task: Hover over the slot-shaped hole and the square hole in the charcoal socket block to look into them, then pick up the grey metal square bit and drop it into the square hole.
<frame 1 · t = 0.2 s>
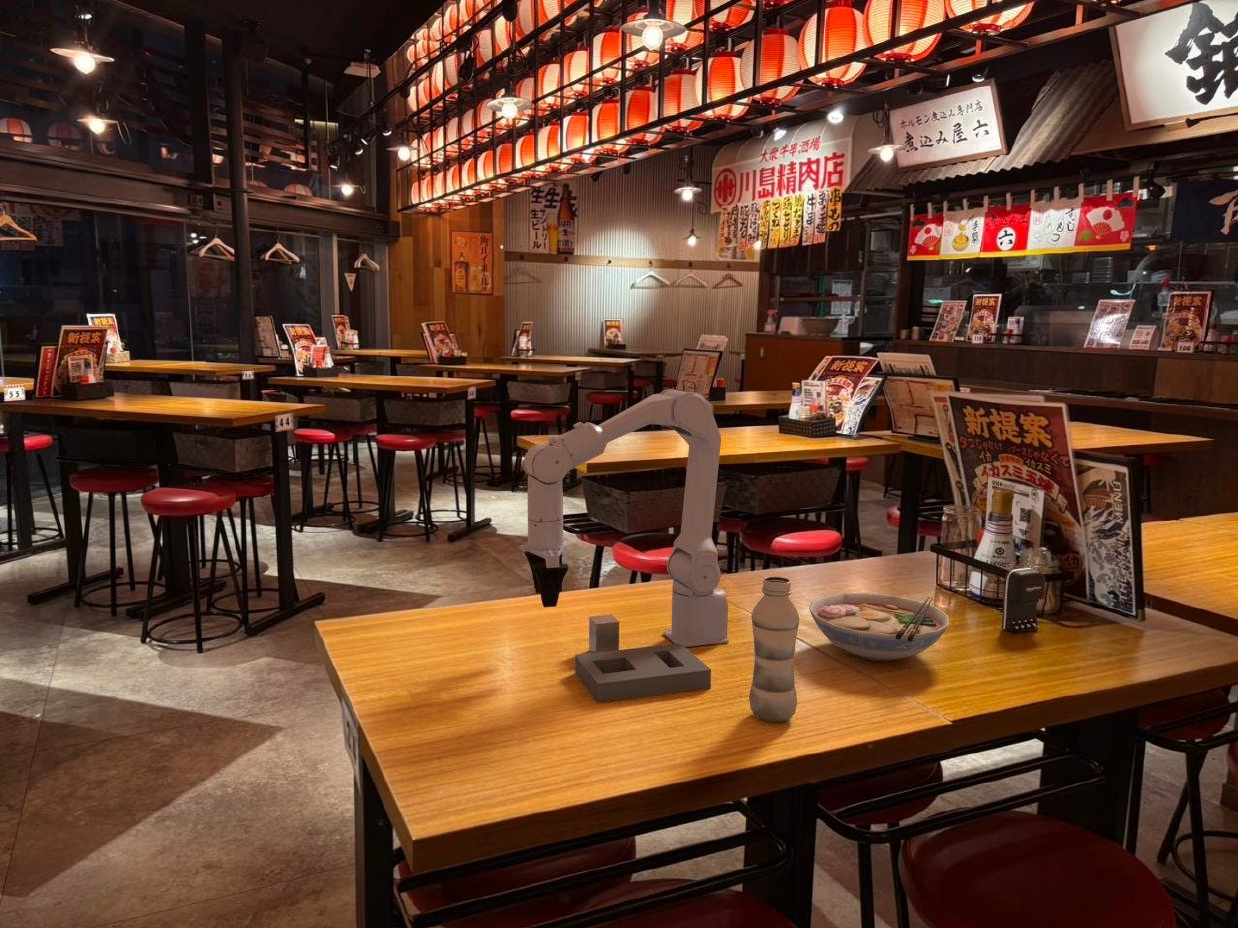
hand: (545, 599, 143), 10 cm above the table, tool pointing down, fingers open, 7 cm apart
ramen bowl: (875, 655, 148), on the table
socket block: (641, 680, 135), on the table
square bit: (603, 653, 147), on the table
plastic bottle: (772, 718, 122), on the table
battery charger: (1022, 631, 160), on the table
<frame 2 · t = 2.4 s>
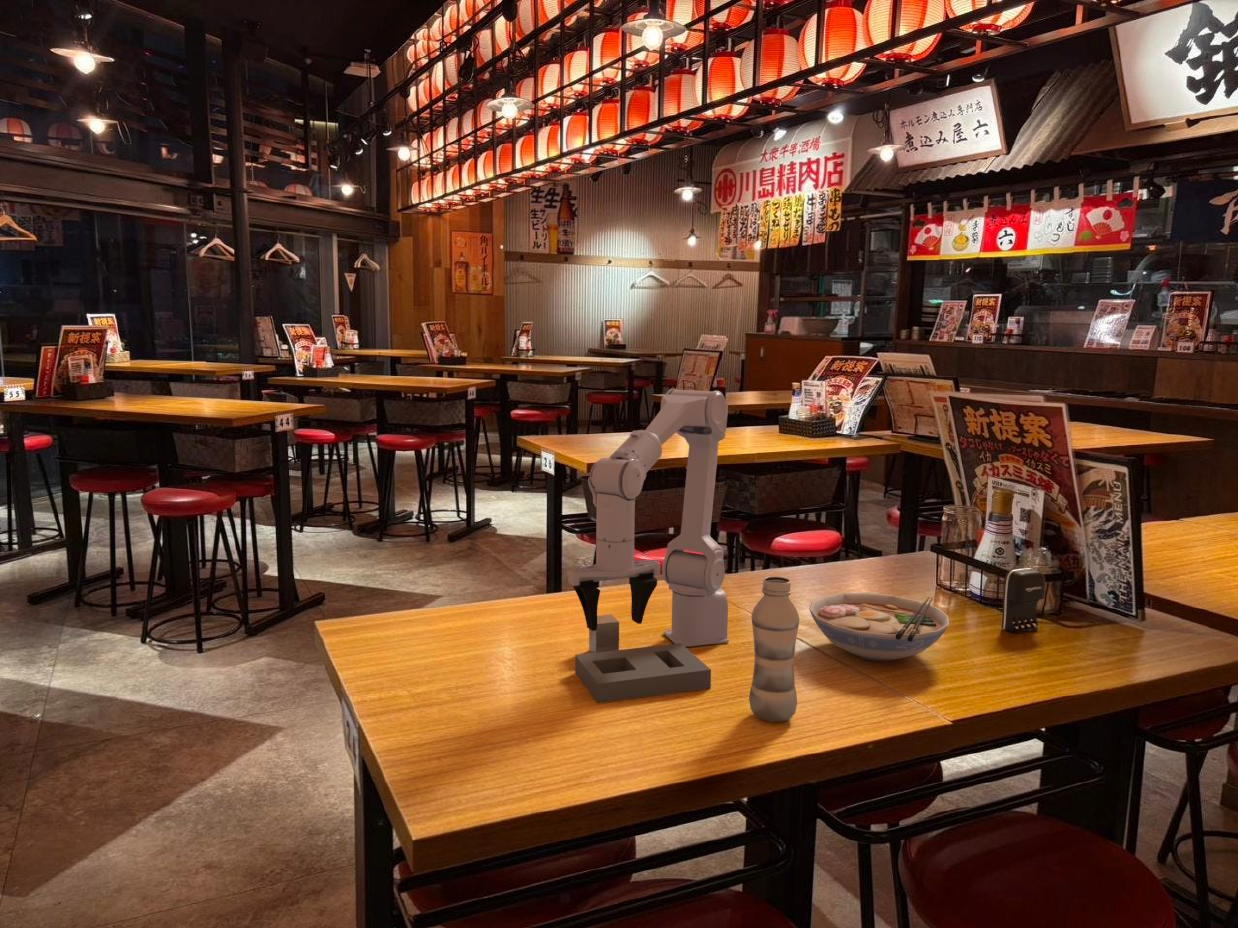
hand: (614, 625, 132), 9 cm above the table, tool pointing down, fingers open, 7 cm apart
nothing on the table moved.
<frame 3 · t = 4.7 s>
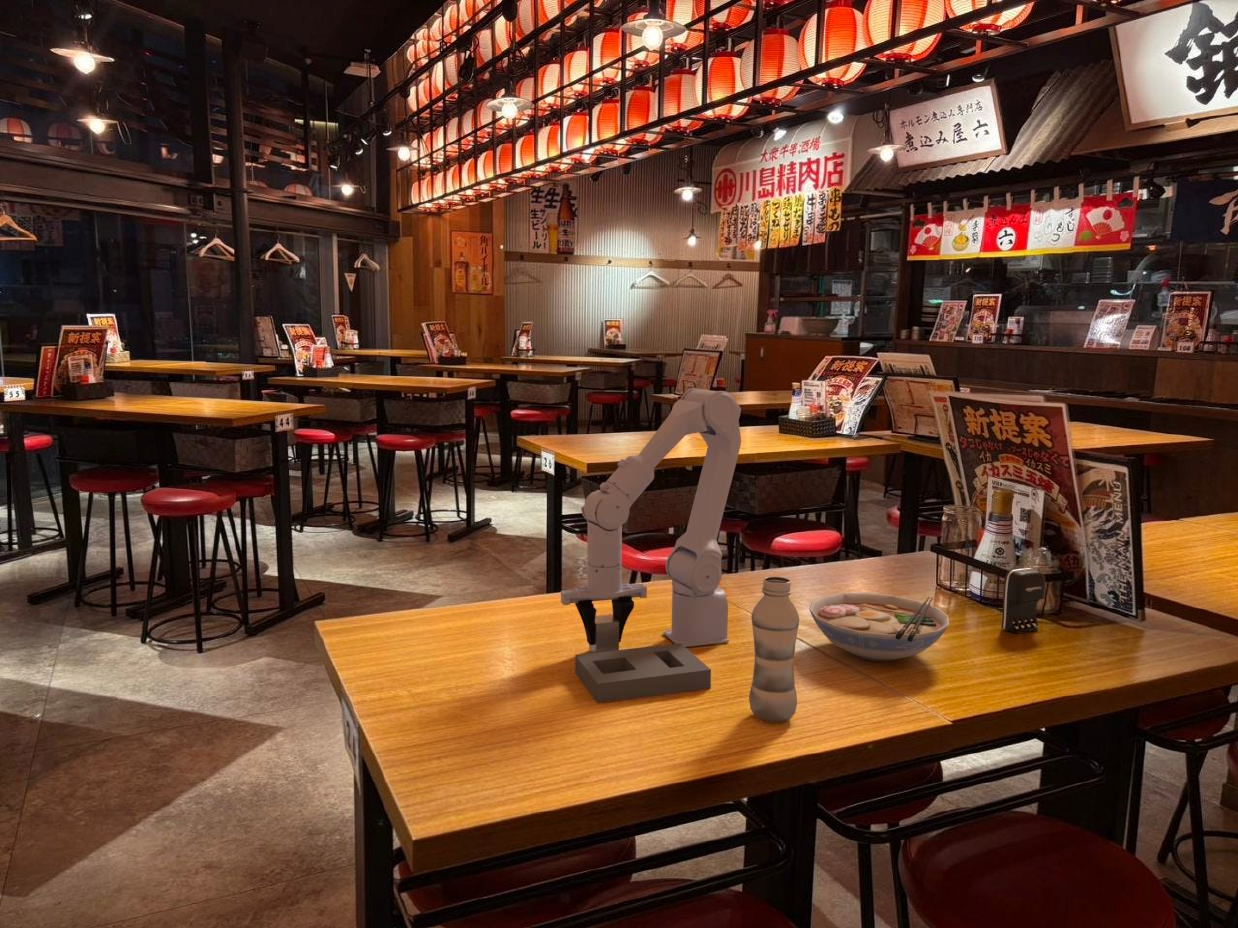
hand: (603, 641, 146), 2 cm above the table, tool pointing down, fingers closed on square bit, 4 cm apart
square bit: (603, 653, 147), on the table, touching gripper
everything else where it was.
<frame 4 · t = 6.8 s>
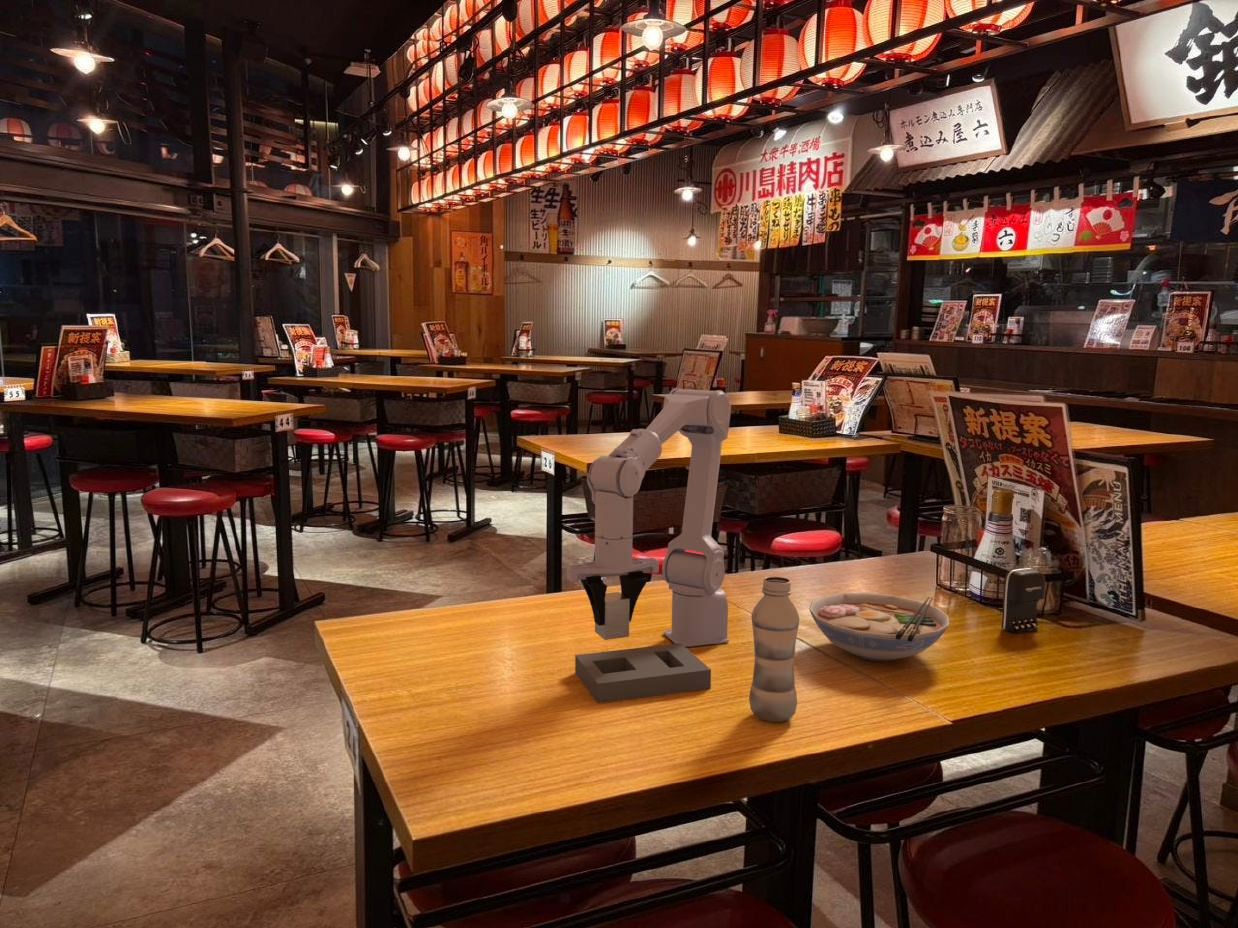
hand: (612, 621, 134), 9 cm above the table, tool pointing down, fingers closed on square bit, 4 cm apart
square bit: (611, 634, 134), point 7 cm above the table, touching gripper
everything else where it was.
when the fingers open (4 cm above the table, at t = 8.7 s): square bit drops 2 cm, resting in socket block.
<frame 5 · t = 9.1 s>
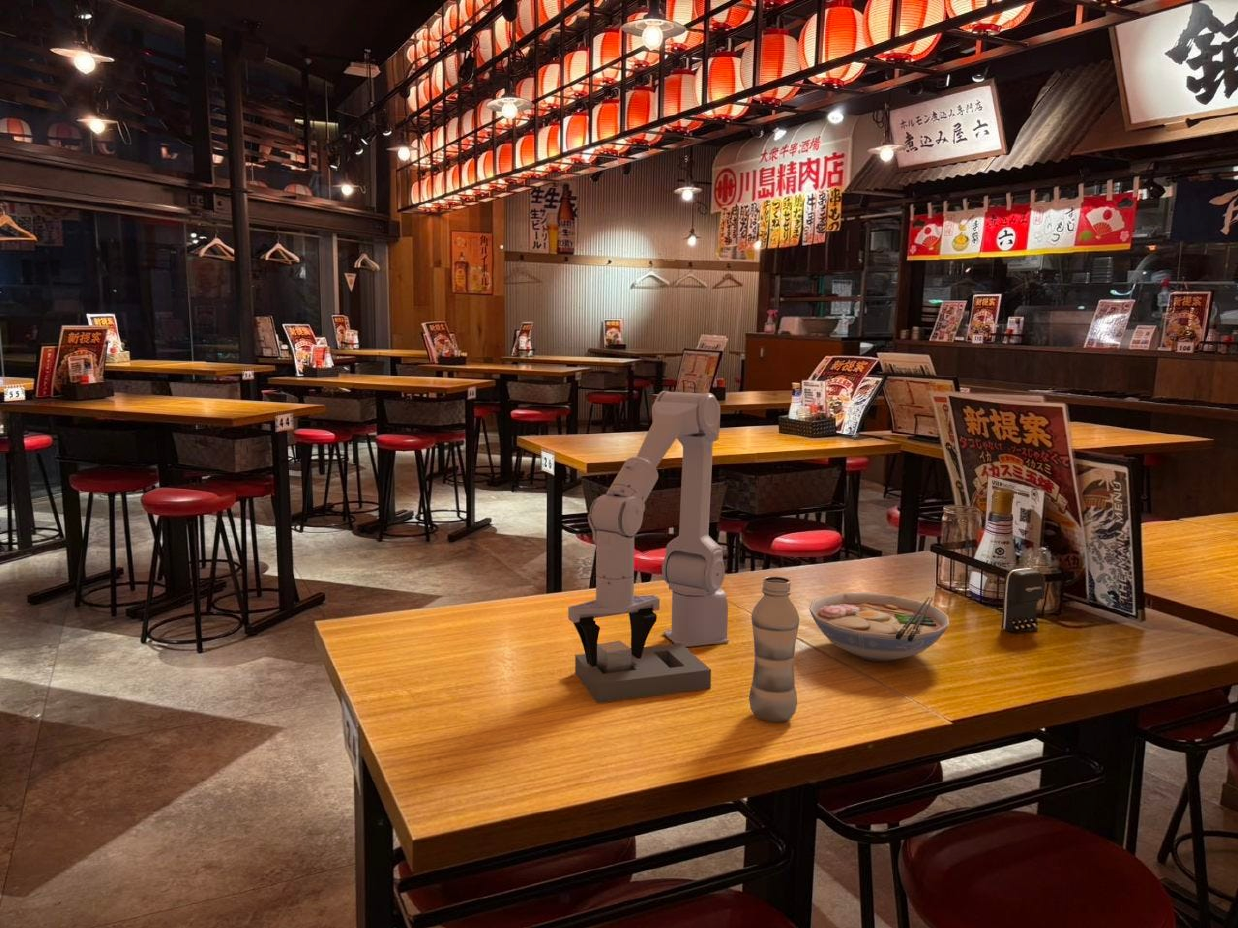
hand: (614, 660, 133), 4 cm above the table, tool pointing down, fingers open, 7 cm apart
square bit: (613, 683, 134), resting in socket block
everything else where it was.
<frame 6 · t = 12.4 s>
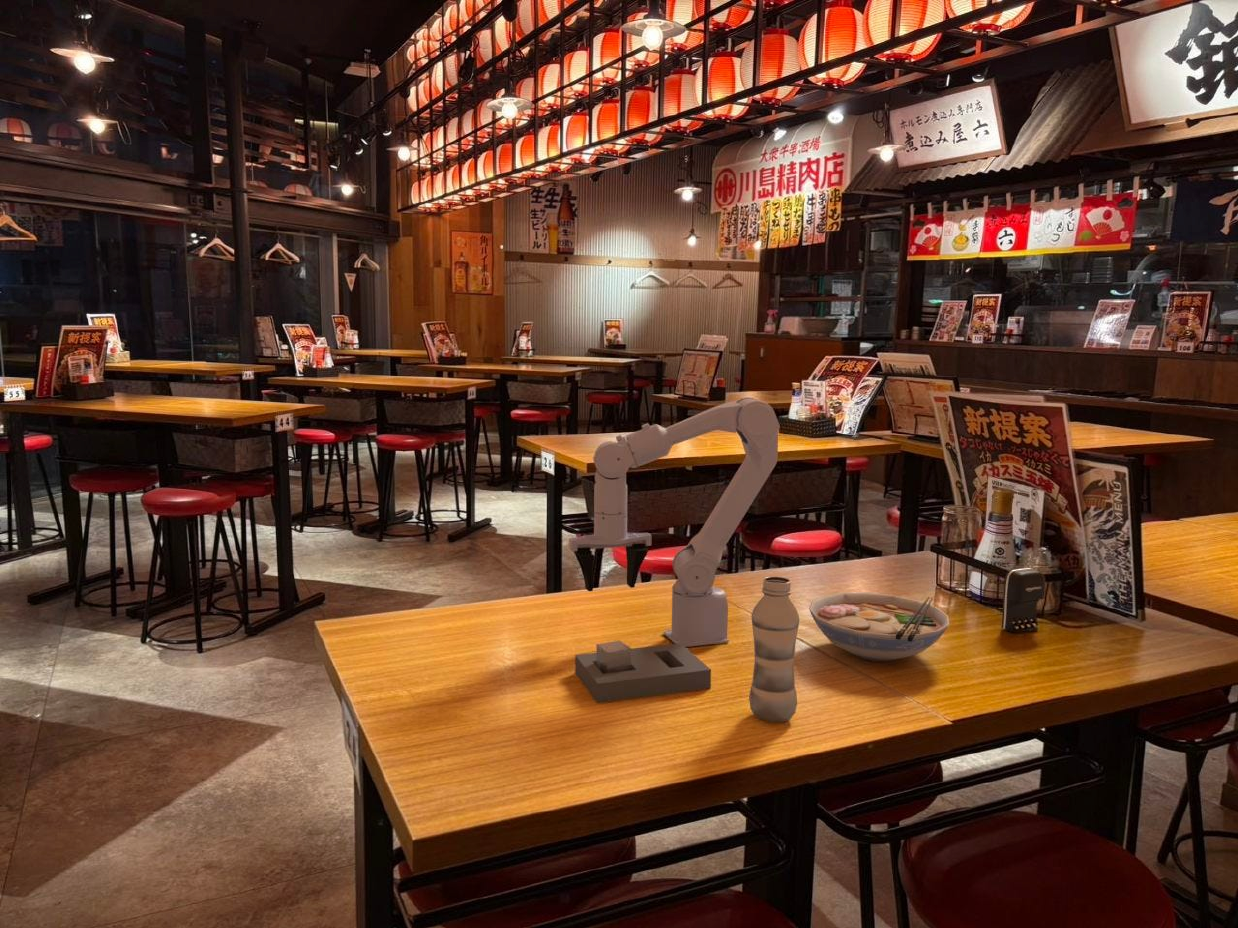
hand: (610, 587, 152), 9 cm above the table, tool pointing down, fingers open, 7 cm apart
nothing on the table moved.
at the end: square bit 0.3 cm from the target spot on the socket block, point 0.0 cm above the socket block's base; square bit tilted 0°; the gripper is holding nothing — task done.
